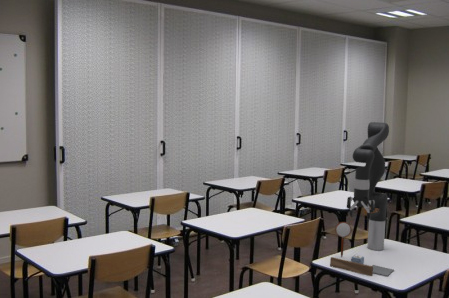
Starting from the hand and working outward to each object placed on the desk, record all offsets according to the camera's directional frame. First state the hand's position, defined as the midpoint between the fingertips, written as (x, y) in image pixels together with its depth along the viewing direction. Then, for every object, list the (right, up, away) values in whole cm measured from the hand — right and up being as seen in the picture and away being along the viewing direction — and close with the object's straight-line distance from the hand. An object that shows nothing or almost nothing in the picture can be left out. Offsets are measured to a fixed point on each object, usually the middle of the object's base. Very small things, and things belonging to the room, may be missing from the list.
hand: (360, 218), depth 256 cm
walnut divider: (-6, -26, -5) cm, 27 cm away
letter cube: (-1, -26, +3) cm, 26 cm away
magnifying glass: (-6, -24, +16) cm, 30 cm away
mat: (+9, -27, -4) cm, 28 cm away
